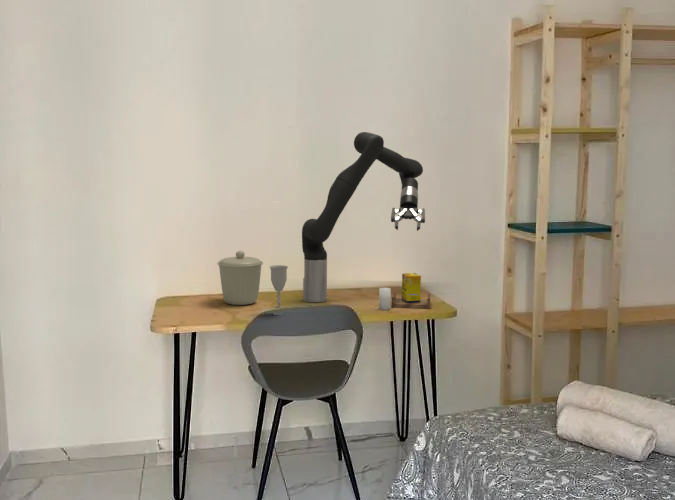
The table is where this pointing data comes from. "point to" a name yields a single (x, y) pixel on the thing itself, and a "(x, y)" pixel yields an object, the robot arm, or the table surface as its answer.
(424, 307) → the wooden tray
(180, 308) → the table surface
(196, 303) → the table surface
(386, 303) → the white rounded capsule
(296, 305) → the table surface
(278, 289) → the chalice
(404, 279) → the supplement box
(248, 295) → the canister
